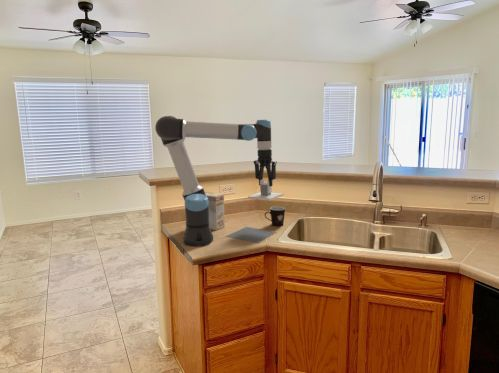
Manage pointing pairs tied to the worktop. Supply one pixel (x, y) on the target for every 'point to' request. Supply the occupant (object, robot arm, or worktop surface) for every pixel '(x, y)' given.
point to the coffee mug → (277, 215)
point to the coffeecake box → (216, 210)
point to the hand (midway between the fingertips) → (265, 191)
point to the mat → (251, 234)
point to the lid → (265, 194)
